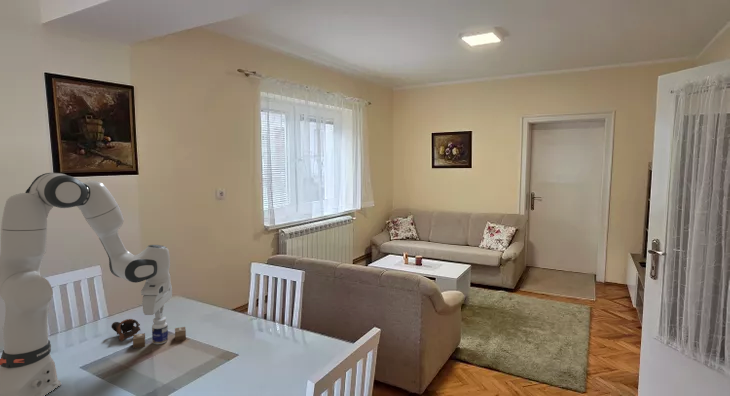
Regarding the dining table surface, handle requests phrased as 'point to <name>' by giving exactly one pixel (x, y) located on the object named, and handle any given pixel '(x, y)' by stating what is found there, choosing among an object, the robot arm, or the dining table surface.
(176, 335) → the walnut block bar
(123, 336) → the pottery mug
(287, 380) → the dining table surface
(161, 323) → the pill bottle
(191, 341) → the dining table surface
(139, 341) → the walnut block dot
